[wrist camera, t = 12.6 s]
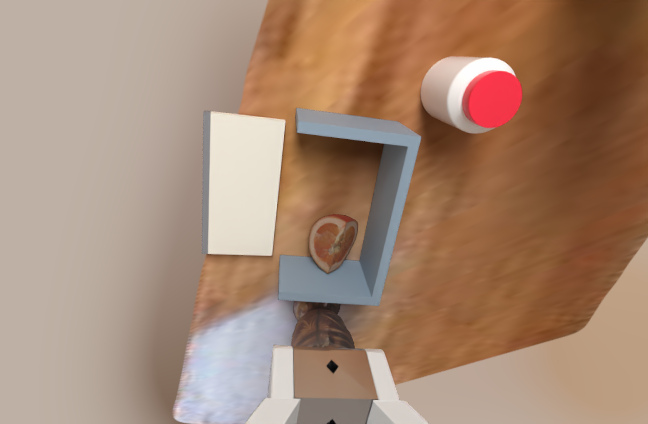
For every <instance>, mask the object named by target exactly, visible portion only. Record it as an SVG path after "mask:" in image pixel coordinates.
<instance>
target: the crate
mask: <svg viewBox="0 0 648 424" xmlns="http://www.w3.org/2000/svg"><path fill="white" fill-rule="evenodd" d="M295 119H296V127H297V133H304V134H312V135H320V136H328V137H336V138H344V139H352V140H360V141H368V142H376V143H384V147H383V152H382V156H381V161H380V166H379V170H378V175H377V180H376V185H375V189H374V194H373V199H372V203H371V208H370V213H369V218H368V222H367V227H366V232H365V236H364V241H363V246H362V250H361V255H360V260H359V261H354V260H344V261H343V263H342V264H341V265H340V267H339V268H338V269H336V270H334V271H332V272H330V273H329V274H328V273H326V272H325V271H324V270H322V269H321V268H320V267H319V266H318V265H317V263H316V262H315V261H314V259H313V257H302V256H289V255H280V261H279V286H278V300H288V301H305V302H322V303H339V304H356V305H373V306H379V303H380V299H381V295H382V292H383V288H384V284H385V280H386V276H387V272H388V268H389V264H390V260H391V256H392V252H393V248H394V244H395V240H396V236H397V232H398V228H399V224H400V220H401V216H402V212H403V208H404V204H405V200H406V196H407V192H408V188H409V184H410V180H411V176H412V172H413V168H414V165H415V161H416V157H417V153H418V149H419V145H420V141H421V136H419V135H418V134H416V133H415V132H413V131H412V130H410V129H409V128H407V127H405V126H404V125H402V124H401V123H399V122H397V121H389V120H382V119H375V118H367V117H360V116H352V115H345V114H338V113H330V112H323V111H315V110H308V109H301V108H296V117H295Z"/></svg>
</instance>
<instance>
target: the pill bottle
mask: <svg viewBox="0 0 648 424" xmlns="http://www.w3.org/2000/svg"><path fill="white" fill-rule="evenodd" d="M521 100H522V87H521V84H520V82H519V80H518V79H517V78H516V75H515V73H514V71H513V70H512V68H511V67H510V66H509V65H508V64H506V63H505V62H504V61H502V60H499V59H496V58H490V57H465V56H452V57H447V58H444V59H442V60H440V61H438V62H437V63H435V64H434V65H433V66H432V67H431V68H430V69H429V70H428V72H427V74H426V75H425V77H424V79H423V82H422V86H421V101H422V104H423V107H424V108H425V110H426V111H427V112H428V113H429V114H430V115H431V116H432V117H434V118H436V119H438V120H440V121H442V122H444V123H447V124H449V125H451V126H453V127H455V128H457V129H460V130H462V131H465V132H467V133H473V134H476V133H484V132H487V131H490V130H492V129H494V128H496V127H499V126H501V125H503V124H505V123H506V122H508V121H509V120H510V119H511V118H512V117H513V116H514V115H515V114H516V112H517V110H518V109H519V107H520V104H521Z"/></svg>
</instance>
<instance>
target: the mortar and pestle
mask: <svg viewBox="0 0 648 424" xmlns="http://www.w3.org/2000/svg"><path fill="white" fill-rule="evenodd" d="M339 309H340V304H339V303H322V302H305V301H294V306H293V311H294V314H295V316H296V318H297V320H298V323H297V324H296V327H295V330H294V333H293V336H292V342H291V346H292V347H293V346H305V347H320V348H351V349H355V347H354V342H353V339H352V337H351V334H350V332H349V331H348V330H347V328H346V326H345V325H344V323H343V321H342V319H341V318H340V317H339V316H338V315H337V314H338V312H339Z"/></svg>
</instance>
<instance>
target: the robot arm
mask: <svg viewBox="0 0 648 424" xmlns="http://www.w3.org/2000/svg"><path fill="white" fill-rule="evenodd" d="M245 424H429V423H428V422H427V421H426V420H425V419H424V418H423V417H422V416H421V415H420V414H419V413H418V412H417V411H416V410H415V409H413V408H412V407H411V406H410V405H409V404H408V403H407V402H406V401H400V399H399V396H398V393H397V390H396V387H395V384H394V381H393V377H392V374H391V371H390V368H389V365H388V362H387V359H386V356H385V353H384V351H383V350H382V349H351V348H320V347H305V346H293V347H292V346H283V345H274V346H273V351H272V359H271V368H270V376H269V386H268V396H267V398H264V400H263V401H262V402H261V404H260V405H259V406H258V407H257V409H256V410H255V411H254V412H253V414H252V415H251V416H250V418H249V419H248V420H247V421H246V423H245Z"/></svg>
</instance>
